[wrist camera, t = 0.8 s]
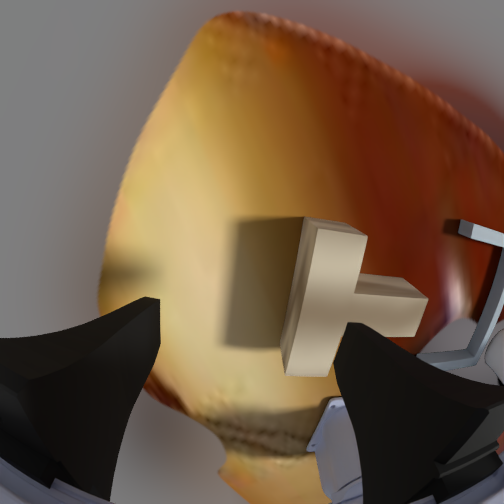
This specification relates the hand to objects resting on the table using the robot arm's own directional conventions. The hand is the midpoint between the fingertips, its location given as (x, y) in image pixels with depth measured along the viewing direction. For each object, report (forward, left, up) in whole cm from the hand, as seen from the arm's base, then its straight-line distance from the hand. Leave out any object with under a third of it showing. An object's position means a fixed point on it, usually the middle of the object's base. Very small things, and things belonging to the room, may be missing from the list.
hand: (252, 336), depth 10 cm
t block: (-2, -7, -10) cm, 12 cm away
